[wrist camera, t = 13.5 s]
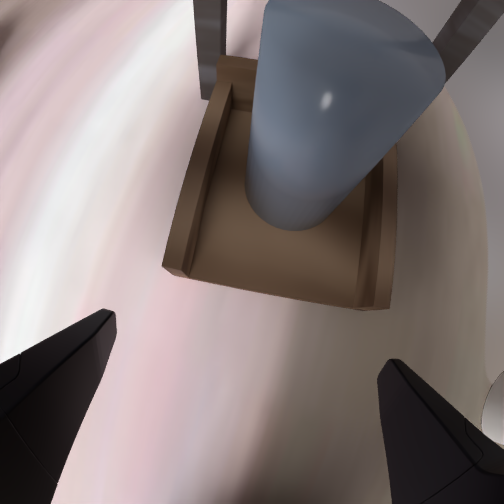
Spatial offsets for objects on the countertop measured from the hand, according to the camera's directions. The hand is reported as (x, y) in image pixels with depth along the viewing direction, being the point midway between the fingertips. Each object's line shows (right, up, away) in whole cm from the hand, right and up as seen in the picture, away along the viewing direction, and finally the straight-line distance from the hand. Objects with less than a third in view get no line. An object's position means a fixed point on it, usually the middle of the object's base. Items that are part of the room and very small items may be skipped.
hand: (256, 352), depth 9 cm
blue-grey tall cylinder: (+2, +7, +10) cm, 13 cm away
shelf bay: (+2, +7, +11) cm, 13 cm away
